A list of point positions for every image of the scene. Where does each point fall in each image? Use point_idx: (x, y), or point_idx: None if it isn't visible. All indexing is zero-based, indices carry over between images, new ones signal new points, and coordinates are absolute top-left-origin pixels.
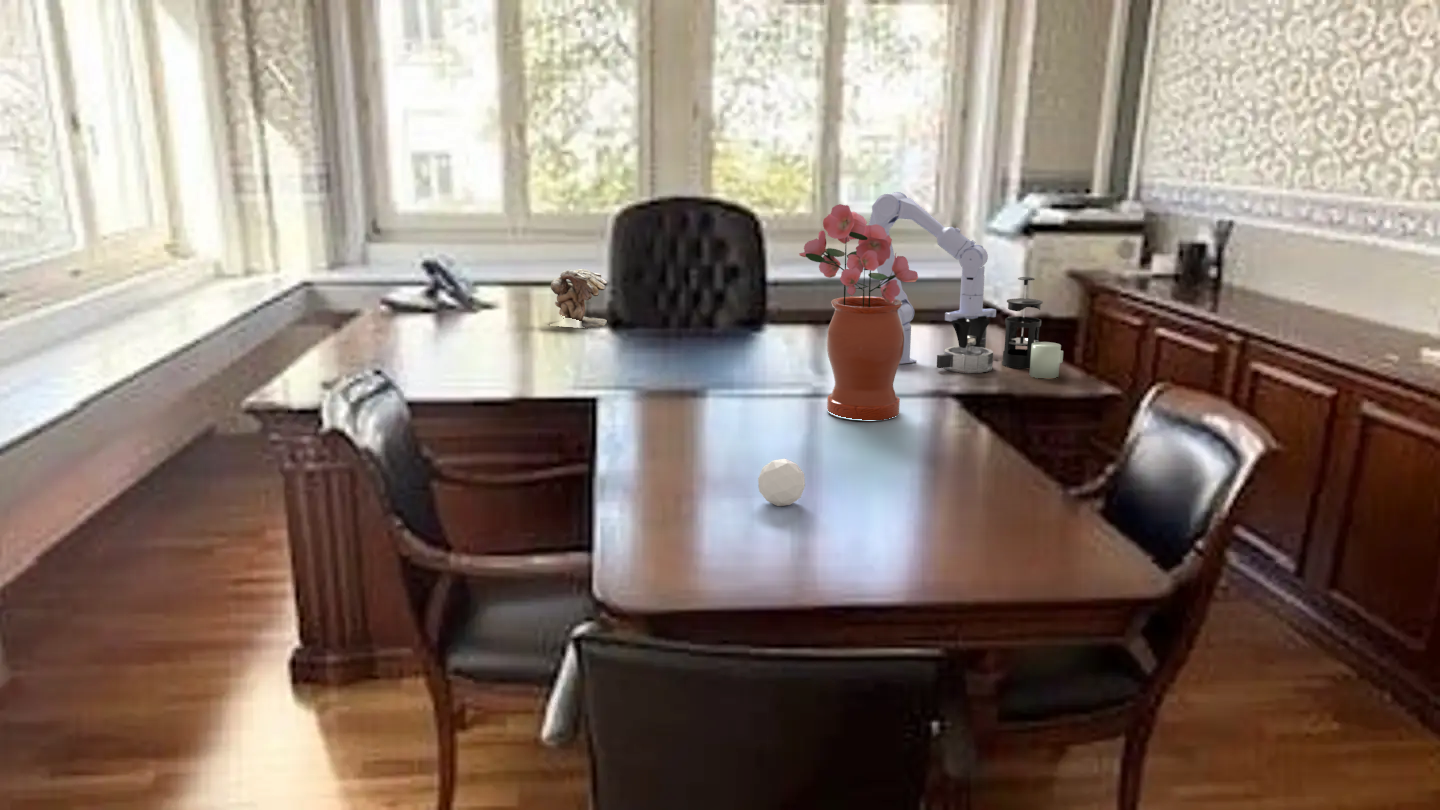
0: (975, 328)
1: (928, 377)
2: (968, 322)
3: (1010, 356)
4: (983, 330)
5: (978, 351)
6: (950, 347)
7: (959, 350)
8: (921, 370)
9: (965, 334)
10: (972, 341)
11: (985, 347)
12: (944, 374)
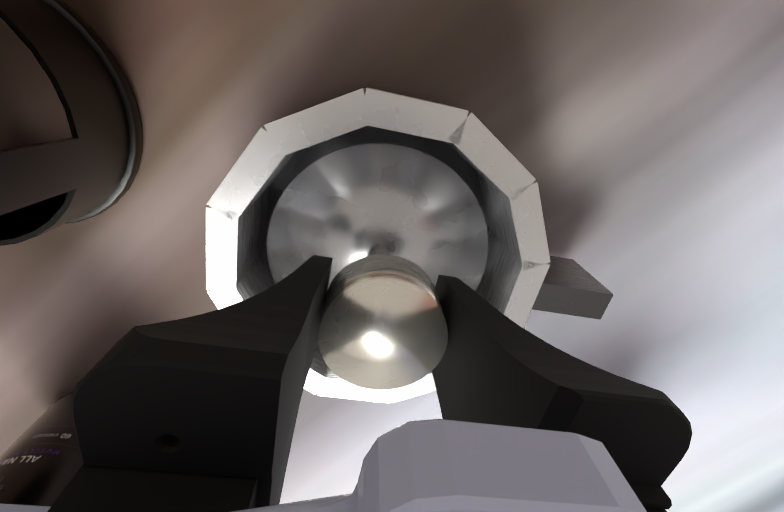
0: (297, 396)
1: (698, 204)
2: (593, 417)
3: (79, 103)
4: (261, 303)
5: (252, 290)
6: (396, 393)
7: None
8: (583, 319)
9: (510, 327)
10: (403, 273)
11: (39, 418)
12: (585, 204)
